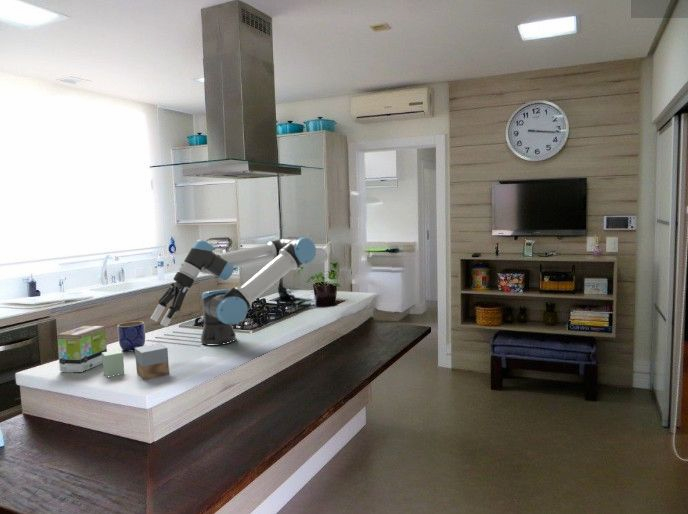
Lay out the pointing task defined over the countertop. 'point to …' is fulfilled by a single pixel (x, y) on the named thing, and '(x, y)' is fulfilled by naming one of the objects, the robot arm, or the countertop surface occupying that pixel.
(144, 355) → the tower top
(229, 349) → the countertop surface
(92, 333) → the tea box
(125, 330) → the planter
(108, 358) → the green block
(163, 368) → the tower base
